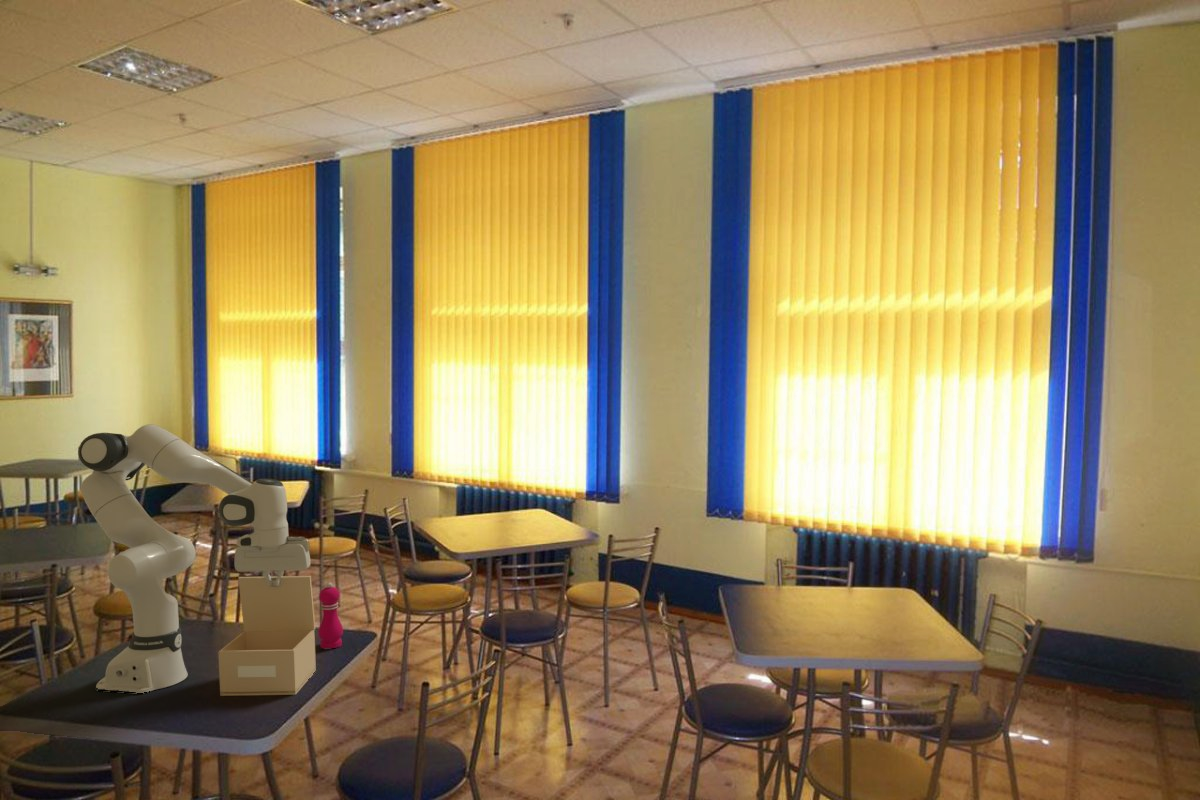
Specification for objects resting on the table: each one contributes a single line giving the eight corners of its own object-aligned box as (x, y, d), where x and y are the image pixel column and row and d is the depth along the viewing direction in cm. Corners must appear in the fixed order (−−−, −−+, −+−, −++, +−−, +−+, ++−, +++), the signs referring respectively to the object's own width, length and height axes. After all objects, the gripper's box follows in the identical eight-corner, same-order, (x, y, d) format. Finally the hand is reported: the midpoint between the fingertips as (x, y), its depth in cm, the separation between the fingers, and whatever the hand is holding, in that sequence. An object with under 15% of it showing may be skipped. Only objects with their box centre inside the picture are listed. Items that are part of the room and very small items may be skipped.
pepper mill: (336, 651, 254) (333, 586, 252) (314, 649, 255) (312, 585, 254) (347, 642, 261) (345, 579, 259) (326, 641, 262) (324, 578, 261)
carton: (219, 696, 222) (218, 651, 221) (245, 672, 238) (243, 630, 237) (295, 694, 222) (293, 650, 221) (315, 671, 238) (314, 629, 237)
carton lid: (238, 578, 234) (239, 576, 235) (244, 630, 237) (245, 629, 238) (309, 577, 234) (310, 575, 235) (314, 629, 237) (315, 628, 238)
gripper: (312, 533, 236) (315, 582, 236) (240, 535, 236) (242, 583, 236) (305, 539, 229) (307, 588, 230) (230, 540, 229) (233, 590, 230)
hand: (273, 586), depth 233 cm, fingers closed, pressing on carton lid
